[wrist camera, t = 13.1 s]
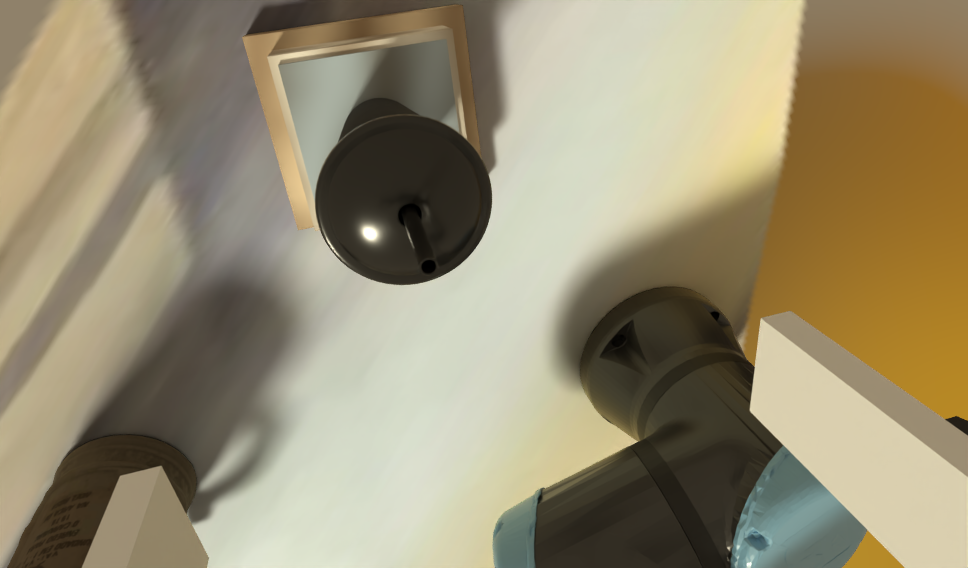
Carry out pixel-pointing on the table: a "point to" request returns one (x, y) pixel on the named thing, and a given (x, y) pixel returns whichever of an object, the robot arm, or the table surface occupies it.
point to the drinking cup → (401, 195)
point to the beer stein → (93, 497)
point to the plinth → (357, 84)
